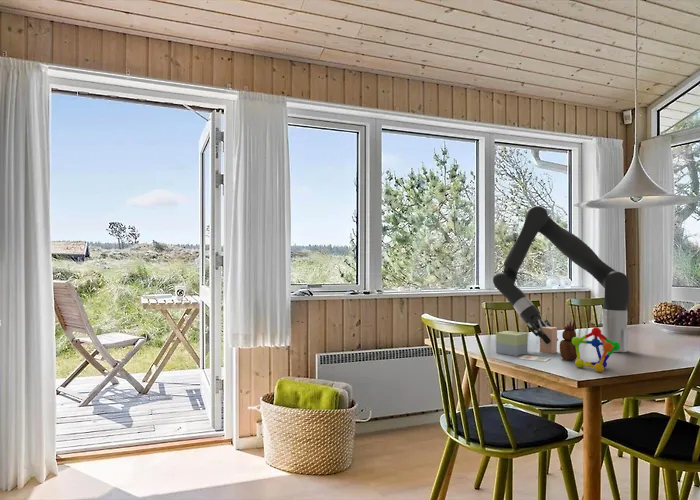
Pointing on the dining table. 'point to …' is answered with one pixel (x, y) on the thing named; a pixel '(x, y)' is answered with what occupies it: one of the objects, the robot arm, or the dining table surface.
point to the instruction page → (534, 358)
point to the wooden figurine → (568, 343)
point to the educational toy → (596, 342)
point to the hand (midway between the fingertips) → (552, 342)
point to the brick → (552, 335)
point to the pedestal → (511, 343)
